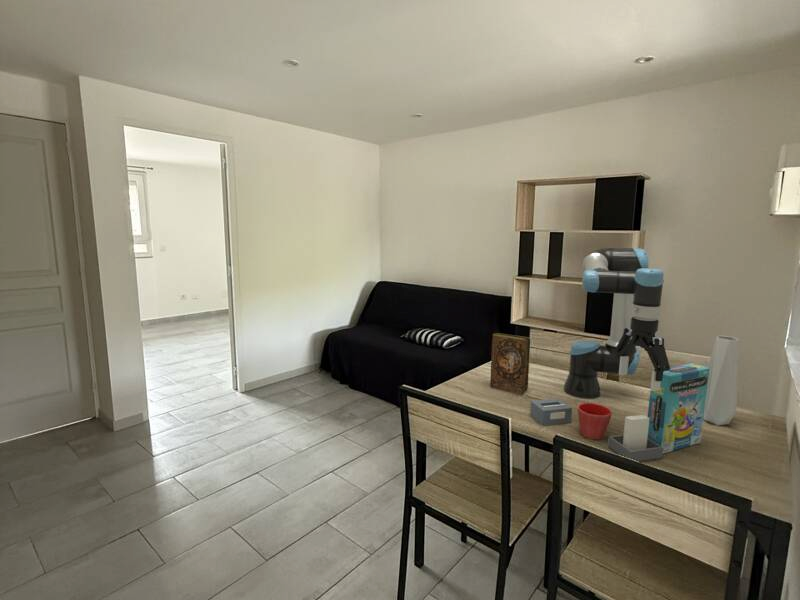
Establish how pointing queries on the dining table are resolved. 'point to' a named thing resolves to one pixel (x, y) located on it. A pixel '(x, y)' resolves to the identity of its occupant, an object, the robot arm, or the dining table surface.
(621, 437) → the bin
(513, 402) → the dining table surface
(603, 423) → the flower pot
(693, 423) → the game box
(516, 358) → the book
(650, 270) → the robot arm
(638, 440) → the white rectangular block
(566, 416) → the dispenser
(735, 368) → the vase
